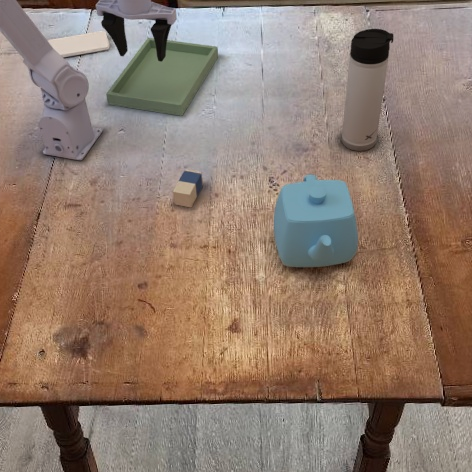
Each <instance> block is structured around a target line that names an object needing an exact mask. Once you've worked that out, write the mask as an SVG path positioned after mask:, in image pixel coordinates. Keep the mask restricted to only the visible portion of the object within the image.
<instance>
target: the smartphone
mask: <svg viewBox="0 0 472 472" xmlns="http://www.w3.org/2000/svg"><path fill="white" fill-rule="evenodd" d="M46 40H47V41H48V42H49V43H50V45H51V46H52V47H53V48H54V49H55V50H56V51H57V52H58V53H59V54H60V55H61V56H62V57H63V58H67V57H73V56H78V55H85V54H90V53H96V52H101V51H106V50H109V49H110V42H109V38H108V33H107V31H106V30H98V31H92V32H86V33H81V34H76V35H70V36H69V35H68V36H64V37H57V38H51V39H46Z"/></svg>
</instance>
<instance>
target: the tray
mask: <svg viewBox="0 0 472 472" xmlns="http://www.w3.org/2000/svg"><path fill="white" fill-rule="evenodd" d="M218 51H219V50H218V46H216V45H208V44H200V43H193V42H184V41H177V40H170V39H167V45H166V56H165V58H164V59H163V61H162V62H161V61H158V58H157V51H156V45H155V41H154V37H147V38H146V40H145V41H144V42H143V44H142V45H141V46H140V48H139V49H138V51H136V53H135V54H134V56H133V57H132V59H130V60H129V63H128V64H127V65H126V66H125V67H124V69H123V70H122V72H121V73H120V74H119V76H118V77H117V78H116V80H115V81H114V82H113V84H112V85H111V86H110V88H109V89H108V90H107V92H106V94H105V95H106V100H107V104H108V106H116V107H123V108H129V109H134V110H135V109H136V110H142V111H148V112H153V113H154V112H155V113H160V114H166V115H167V114H168V115H174V116H180V117H183V115H184V114H185V112H186V111H187V109H188V107H189V106H190V104H191V103H192V101H193V100H194V98H195V96H196V95H197V93H198V91H199V89H200V88H201V86H202V84H203V83H204V81H205V80H206V78H207V77H208V75H209V73H210V71H211V70H212V68H213V67H214V65H215V63H216V62H217V60H218V58H219V52H218Z"/></svg>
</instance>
